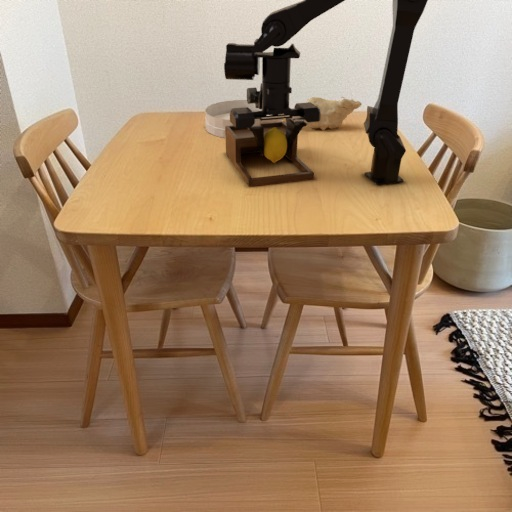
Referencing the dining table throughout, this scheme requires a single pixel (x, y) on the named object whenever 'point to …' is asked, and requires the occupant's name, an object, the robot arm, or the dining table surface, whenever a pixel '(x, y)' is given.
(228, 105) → the dish
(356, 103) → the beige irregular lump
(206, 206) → the dining table surface
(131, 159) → the dining table surface
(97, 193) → the dining table surface
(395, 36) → the robot arm
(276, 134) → the lemon
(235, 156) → the step shelf
